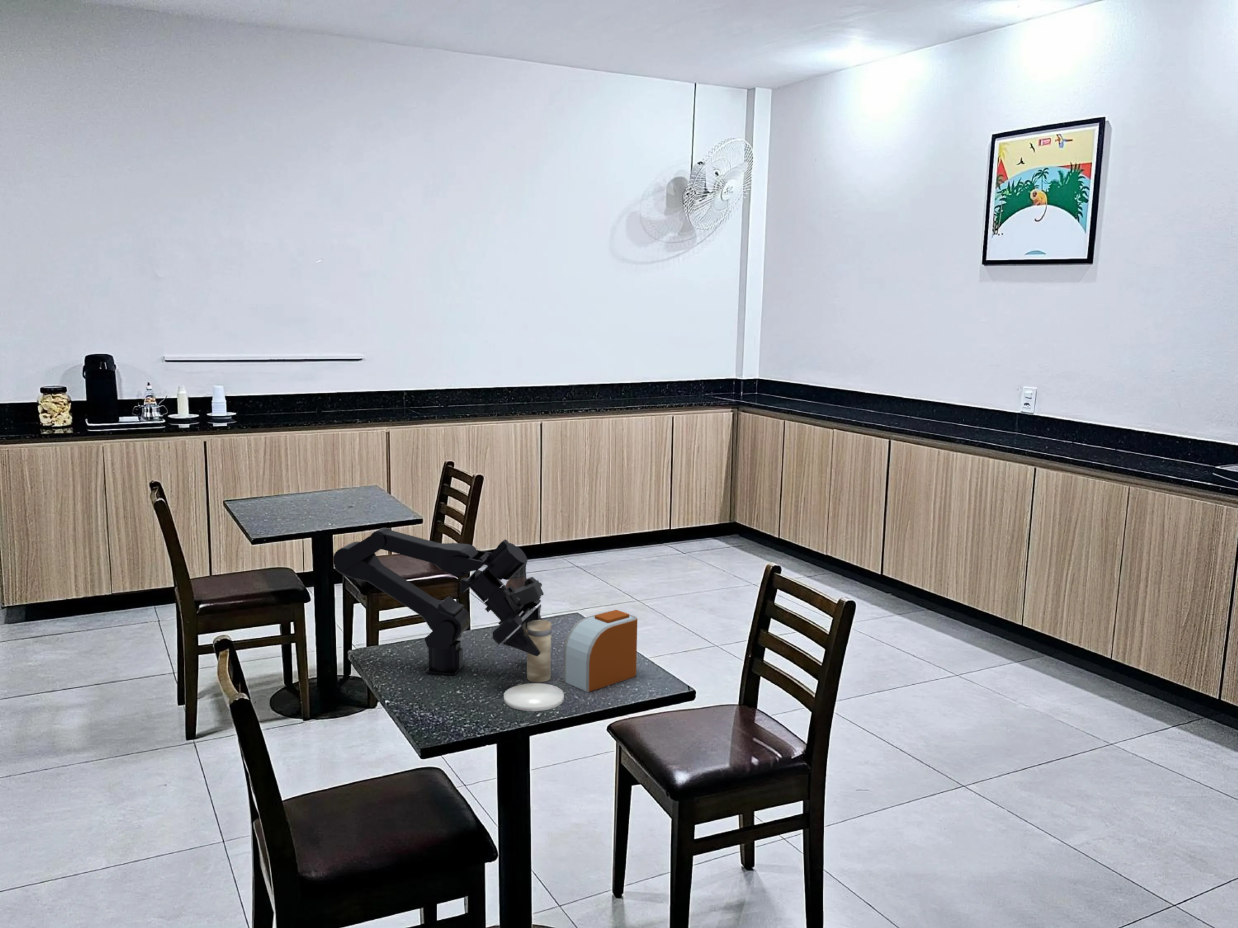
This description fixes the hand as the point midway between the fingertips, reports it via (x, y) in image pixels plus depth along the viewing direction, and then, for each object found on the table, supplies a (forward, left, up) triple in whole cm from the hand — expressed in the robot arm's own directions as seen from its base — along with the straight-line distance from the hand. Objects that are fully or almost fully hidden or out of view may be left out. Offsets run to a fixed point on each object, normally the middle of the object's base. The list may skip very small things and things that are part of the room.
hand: (544, 647), depth 212 cm
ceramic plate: (+1, -12, -7) cm, 13 cm away
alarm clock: (+12, +3, -7) cm, 14 cm away
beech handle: (-1, 0, -7) cm, 7 cm away
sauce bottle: (-12, +22, -7) cm, 26 cm away
